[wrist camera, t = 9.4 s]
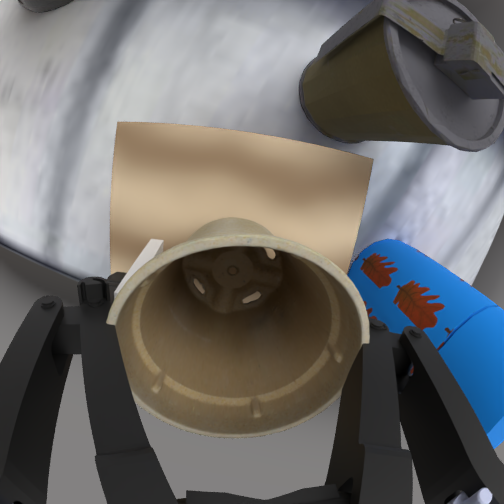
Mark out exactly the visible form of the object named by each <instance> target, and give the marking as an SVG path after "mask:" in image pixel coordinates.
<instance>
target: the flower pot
mask: <svg viewBox="0 0 504 504" xmlns="http://www.w3.org/2000/svg"><path fill="white" fill-rule="evenodd" d="M265 248H270V249H273V251H274V252H275V258H274V259H271V258H269V257H268V255H267V252H266V250H265ZM232 267H233V268H235V269H236V273H235V274H230V273H229V269H230V268H232ZM194 279H197V281H198V282H199V283H200V284H202V288H203V289H204V290H205V292H204V293H203V294H202V293H201V292H200V291H199V290H198V289H197V287H196V286H195V284H194ZM256 291H258V292H259V293H260V294H261V296H260V297H259V298H258V299H256V300H253V301H250V302H249V303H243V299H244V298H246V297H248V296H250V295H252V294H254V293H256ZM106 323H107V324H111V325H115V328H116V333H117V337H118V342H119V346H120V350H121V354H122V358H123V362H124V366H125V370H126V374H127V377H128V381H129V384H130V388H131V391H132V395H133V398H134V401H135V402H136V403H137V404H138V405H139V406H140V407H141V408H142V409H144V410H145V411H147V412H149V414H151V415H153V416H155V417H156V418H158V419H160V420H162V421H163V422H166V423H168V424H169V425H172V426H174V427H176V428H179V429H181V430H185V431H187V432H191V433H195V434H199V435H204V436H210V437H218V438H251V437H258V436H260V437H261V436H265V435H268V434H273V433H277V432H282V431H285V430H287V429H290V428H292V427H295V426H297V425H299V424H301V423H303V422H306V421H307V420H309V419H311V418H313V417H314V416H316V415H318V414H319V413H321V412H322V411H324V410H325V409H327V408H328V407H329V406H330V405H331V404H332V403H333V402H334V401H335V400H337V399H338V398H339V397H340V396H341V393H342V388H343V385H344V383H345V381H346V378H347V376H348V373H349V371H350V369H351V366H352V364H353V362H354V360H355V358H356V356H357V354H358V352H359V350H360V348H361V346H362V344H363V343H369V338H370V335H369V319H368V316H367V311H366V307H365V304H364V302H363V299H362V298H361V296H360V293H359V291H358V290H357V288H356V287H355V285H354V284H353V282H352V281H351V280H350V278H349V277H348V276H347V275H346V274H345V273H344V272H343V271H342V270H341V269H340V268H339V267H338V266H337V265H335V264H334V263H333V262H332V261H330V260H329V259H328V258H326V257H325V256H323V255H321V254H320V253H318V252H316V251H314V250H313V249H311V248H309V247H307V246H305V245H302V244H300V243H297V242H294V241H291V240H288V239H284V238H281V237H277V236H274V235H273V234H272V233H271V232H270V231H269V230H268V229H266V228H265V227H264V226H262V225H260V224H258V223H256V222H254V221H251V220H248V219H243V218H235V217H228V218H221V219H217V220H214V221H211V222H209V223H207V224H205V225H203V226H202V227H200V228H199V229H198V230H197V231H195V232H194V233H193V234H192V235H191V237H190V238H189V239H188V240H187V242H184V243H181V244H179V245H176V246H174V247H172V248H170V249H168V250H166V251H164V252H162V253H160V254H159V255H157V256H155V257H154V258H152V259H151V260H149V261H148V262H147V263H145V264H144V265H143V266H142V267H141V268H139V269H138V270H137V271H136V272H135V273H134V274H133V275H132V276H131V277H130V278H129V279H128V281H127V282H126V283H125V284H124V286H123V287H122V288H121V290H120V291H119V293H118V294H117V296H116V297H115V300H114V302H113V304H112V306H111V309H110V311H109V314H108V318H107V321H106Z"/></svg>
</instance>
